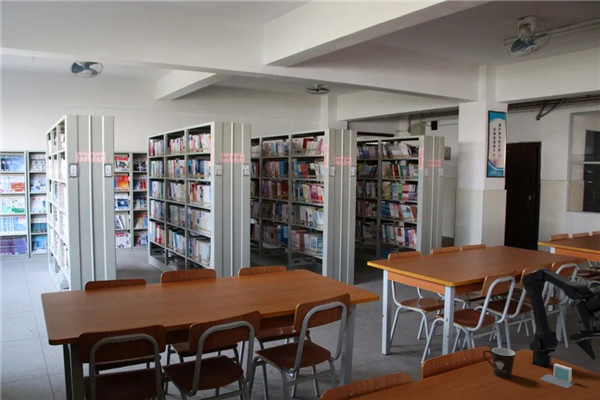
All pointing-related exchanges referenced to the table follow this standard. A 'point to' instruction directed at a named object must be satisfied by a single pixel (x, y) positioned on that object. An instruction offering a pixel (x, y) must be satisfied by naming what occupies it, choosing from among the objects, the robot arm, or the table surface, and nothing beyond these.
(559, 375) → the tile
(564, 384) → the mat
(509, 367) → the coffee mug
